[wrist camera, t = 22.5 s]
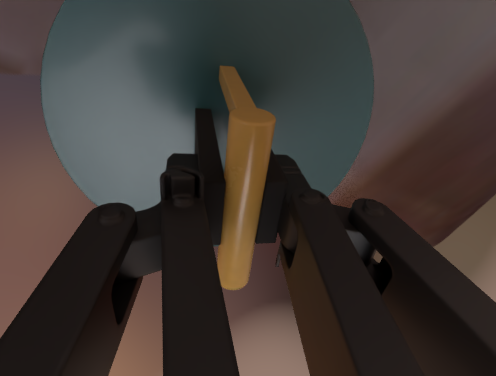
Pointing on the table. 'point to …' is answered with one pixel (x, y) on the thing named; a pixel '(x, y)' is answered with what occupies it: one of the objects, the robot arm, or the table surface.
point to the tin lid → (206, 98)
